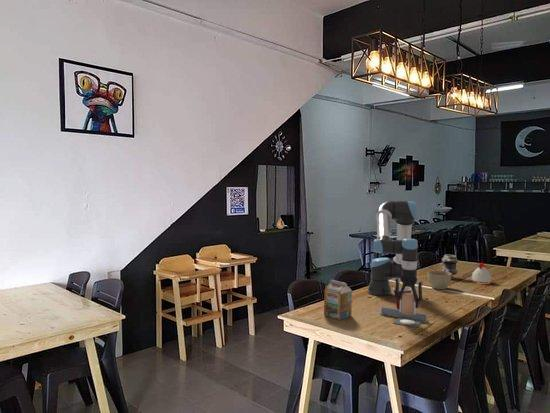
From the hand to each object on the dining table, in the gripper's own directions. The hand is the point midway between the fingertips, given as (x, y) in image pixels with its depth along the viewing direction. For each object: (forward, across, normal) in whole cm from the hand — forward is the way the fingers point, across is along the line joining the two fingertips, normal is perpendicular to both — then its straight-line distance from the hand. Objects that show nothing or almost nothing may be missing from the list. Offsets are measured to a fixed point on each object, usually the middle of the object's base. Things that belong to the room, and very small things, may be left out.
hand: (407, 312), depth 222 cm
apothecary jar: (+5, -2, +130) cm, 130 cm away
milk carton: (+6, -35, -10) cm, 37 cm away
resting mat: (+5, 0, 0) cm, 5 cm away
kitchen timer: (+5, +21, +129) cm, 131 cm away
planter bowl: (+5, -2, +91) cm, 91 cm away
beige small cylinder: (0, 0, 0) cm, 0 cm away
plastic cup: (+6, -10, +25) cm, 28 cm away
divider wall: (+5, -4, +7) cm, 10 cm away
